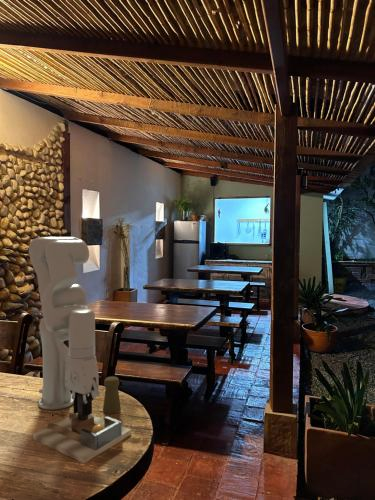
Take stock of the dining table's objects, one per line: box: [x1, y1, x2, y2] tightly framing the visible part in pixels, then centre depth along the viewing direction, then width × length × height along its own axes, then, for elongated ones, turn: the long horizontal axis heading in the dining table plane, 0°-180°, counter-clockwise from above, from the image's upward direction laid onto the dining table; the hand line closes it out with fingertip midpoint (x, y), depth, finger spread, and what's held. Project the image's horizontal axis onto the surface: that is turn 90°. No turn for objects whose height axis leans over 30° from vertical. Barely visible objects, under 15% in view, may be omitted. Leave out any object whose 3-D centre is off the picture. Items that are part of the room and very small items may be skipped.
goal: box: [80, 416, 122, 451], centre depth 111 cm, size 6×10×4 cm, turn 146°
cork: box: [102, 376, 122, 414], centre depth 134 cm, size 6×6×11 cm
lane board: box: [32, 411, 132, 464], centre depth 115 cm, size 22×18×3 cm
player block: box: [71, 393, 95, 434], centre depth 115 cm, size 4×5×11 cm
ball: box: [92, 424, 105, 434], centre depth 111 cm, size 4×4×4 cm
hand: (82, 412), depth 115 cm, fingers closed on player block, 3 cm apart
